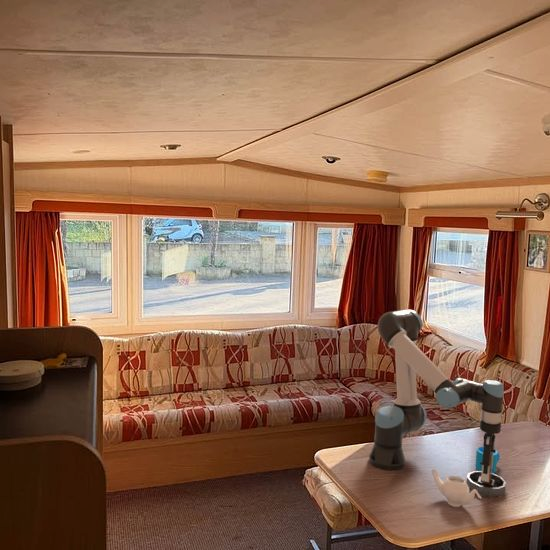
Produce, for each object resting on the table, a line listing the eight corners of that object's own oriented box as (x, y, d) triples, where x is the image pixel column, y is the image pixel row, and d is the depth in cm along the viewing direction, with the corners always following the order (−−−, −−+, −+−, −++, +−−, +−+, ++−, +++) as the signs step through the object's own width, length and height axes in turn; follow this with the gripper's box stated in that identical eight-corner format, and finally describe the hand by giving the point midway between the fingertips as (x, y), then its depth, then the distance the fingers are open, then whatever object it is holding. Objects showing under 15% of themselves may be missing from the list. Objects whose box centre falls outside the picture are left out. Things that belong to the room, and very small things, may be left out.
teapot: (473, 519, 188) (475, 494, 187) (423, 496, 203) (425, 473, 202) (486, 510, 194) (488, 486, 193) (437, 488, 209) (439, 466, 208)
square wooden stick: (481, 486, 210) (483, 454, 209) (482, 483, 213) (484, 451, 212) (489, 488, 209) (491, 456, 207) (490, 485, 211) (492, 453, 210)
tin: (464, 491, 208) (464, 482, 208) (469, 476, 220) (470, 468, 220) (503, 500, 201) (503, 492, 201) (506, 484, 214) (507, 476, 213)
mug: (486, 475, 222) (488, 456, 221) (471, 466, 229) (472, 448, 228) (506, 469, 227) (507, 451, 226) (490, 461, 234) (491, 443, 234)
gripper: (498, 433, 196) (493, 489, 198) (504, 413, 217) (500, 464, 219) (476, 429, 199) (472, 484, 201) (484, 409, 220) (480, 460, 222)
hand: (486, 474), depth 210 cm, fingers open, 11 cm apart
